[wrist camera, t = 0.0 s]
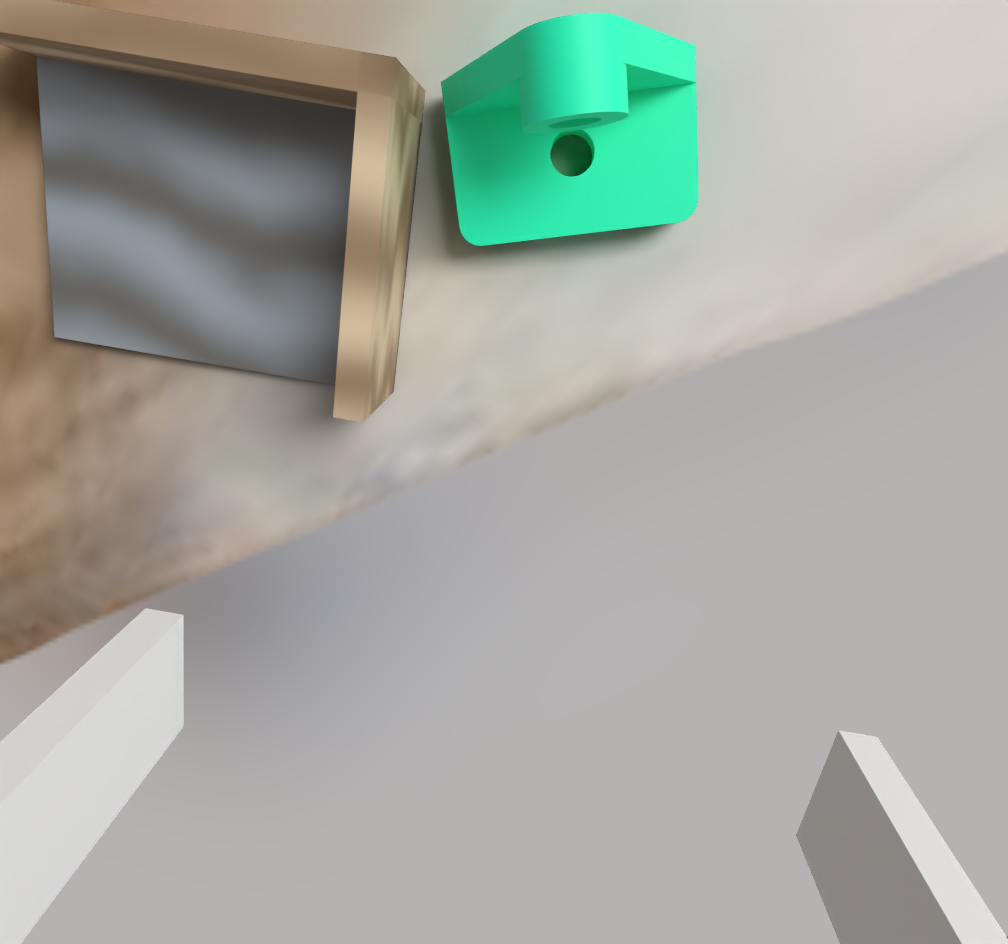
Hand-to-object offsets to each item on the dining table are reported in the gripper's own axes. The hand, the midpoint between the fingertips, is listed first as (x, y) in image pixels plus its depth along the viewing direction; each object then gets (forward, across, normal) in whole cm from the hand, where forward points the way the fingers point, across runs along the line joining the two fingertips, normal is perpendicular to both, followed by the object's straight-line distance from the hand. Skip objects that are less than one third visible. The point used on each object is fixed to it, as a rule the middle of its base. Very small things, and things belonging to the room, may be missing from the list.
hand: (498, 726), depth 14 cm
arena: (+28, -18, +7) cm, 34 cm away
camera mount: (+28, 0, +13) cm, 31 cm away
